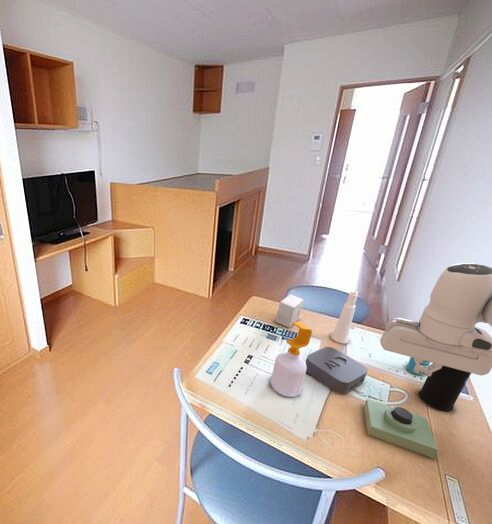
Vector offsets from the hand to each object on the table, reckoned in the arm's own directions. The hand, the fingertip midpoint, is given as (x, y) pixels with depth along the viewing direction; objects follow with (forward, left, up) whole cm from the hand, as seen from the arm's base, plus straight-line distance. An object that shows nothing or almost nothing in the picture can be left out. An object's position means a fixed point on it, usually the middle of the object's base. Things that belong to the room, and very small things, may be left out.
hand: (421, 373), depth 78 cm
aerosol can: (-13, -19, -21) cm, 31 cm away
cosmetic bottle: (+12, -41, -21) cm, 47 cm away
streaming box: (+15, -16, -21) cm, 30 cm away
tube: (-11, -33, -21) cm, 41 cm away
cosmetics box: (+32, -45, -21) cm, 59 cm away
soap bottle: (+29, -2, -21) cm, 36 cm away
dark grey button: (0, 0, -16) cm, 16 cm away
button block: (0, 0, -21) cm, 21 cm away
